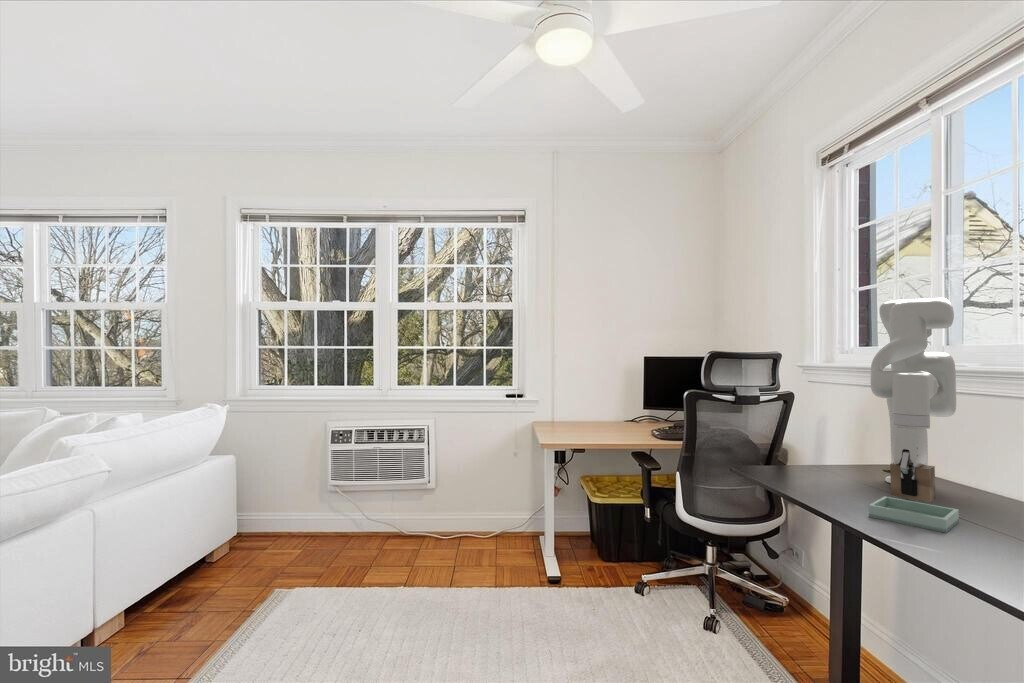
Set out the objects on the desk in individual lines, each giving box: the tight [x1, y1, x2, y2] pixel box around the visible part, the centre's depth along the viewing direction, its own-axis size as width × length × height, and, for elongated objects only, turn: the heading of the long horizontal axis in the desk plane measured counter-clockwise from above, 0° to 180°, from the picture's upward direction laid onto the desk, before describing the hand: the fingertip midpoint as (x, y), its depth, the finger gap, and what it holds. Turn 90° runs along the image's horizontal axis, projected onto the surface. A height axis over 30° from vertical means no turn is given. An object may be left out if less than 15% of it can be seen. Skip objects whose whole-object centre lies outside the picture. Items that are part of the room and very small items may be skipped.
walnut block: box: [889, 462, 936, 503], centre depth 132 cm, size 5×8×8 cm, turn 39°
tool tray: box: [868, 495, 960, 534], centre depth 132 cm, size 13×16×3 cm
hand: (912, 492), depth 132 cm, fingers closed on walnut block, 5 cm apart
